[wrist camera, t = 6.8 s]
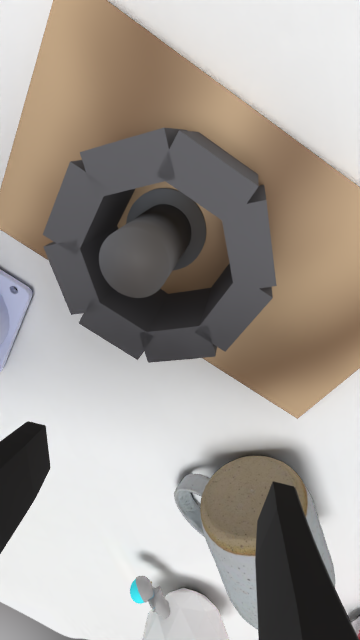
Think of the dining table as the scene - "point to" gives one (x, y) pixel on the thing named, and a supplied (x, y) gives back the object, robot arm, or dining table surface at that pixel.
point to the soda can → (357, 626)
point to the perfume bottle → (178, 614)
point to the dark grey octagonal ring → (161, 308)
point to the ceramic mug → (242, 520)
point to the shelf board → (182, 212)
